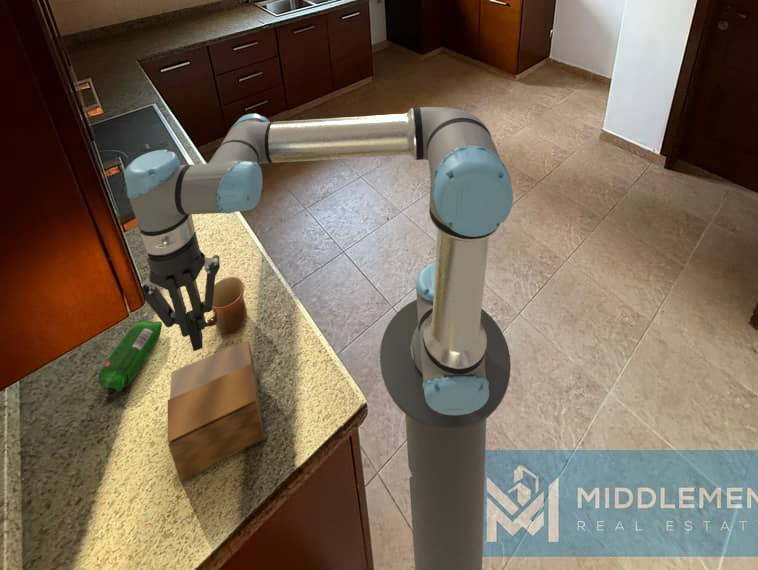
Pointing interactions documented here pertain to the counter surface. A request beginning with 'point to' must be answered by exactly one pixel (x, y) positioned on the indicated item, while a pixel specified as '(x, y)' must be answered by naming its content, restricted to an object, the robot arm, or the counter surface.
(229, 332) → the mug
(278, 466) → the counter surface
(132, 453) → the counter surface
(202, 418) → the flap
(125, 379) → the snack package
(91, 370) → the counter surface
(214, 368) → the carton
